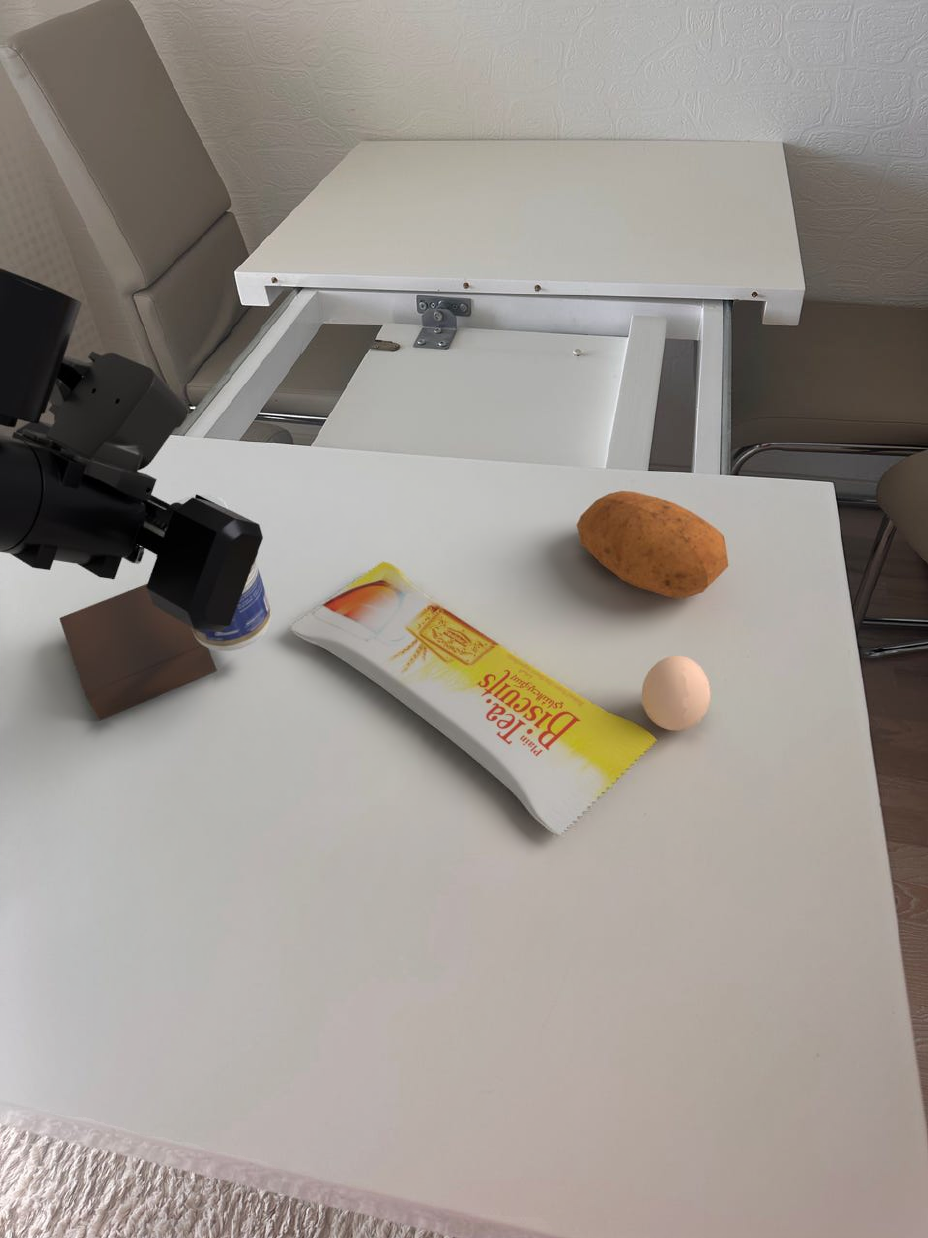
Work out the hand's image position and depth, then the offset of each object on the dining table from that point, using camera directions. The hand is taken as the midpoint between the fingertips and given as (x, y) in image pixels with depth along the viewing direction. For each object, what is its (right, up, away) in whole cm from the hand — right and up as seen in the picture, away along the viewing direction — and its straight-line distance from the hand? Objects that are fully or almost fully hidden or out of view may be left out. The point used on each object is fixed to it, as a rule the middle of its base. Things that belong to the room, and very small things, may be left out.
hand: (224, 541), depth 61 cm
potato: (+30, -1, +14) cm, 33 cm away
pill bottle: (0, -6, +4) cm, 7 cm away
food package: (+15, -10, +7) cm, 20 cm away
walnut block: (-9, -8, +12) cm, 17 cm away
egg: (+30, -12, +4) cm, 32 cm away
